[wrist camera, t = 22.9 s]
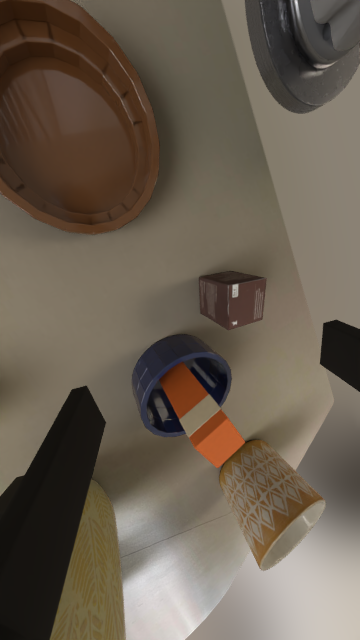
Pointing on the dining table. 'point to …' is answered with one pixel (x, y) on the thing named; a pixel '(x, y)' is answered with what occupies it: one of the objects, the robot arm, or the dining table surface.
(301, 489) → the planter
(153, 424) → the pot
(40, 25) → the bowl
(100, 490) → the vase
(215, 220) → the dining table surface
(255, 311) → the box
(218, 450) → the packet
